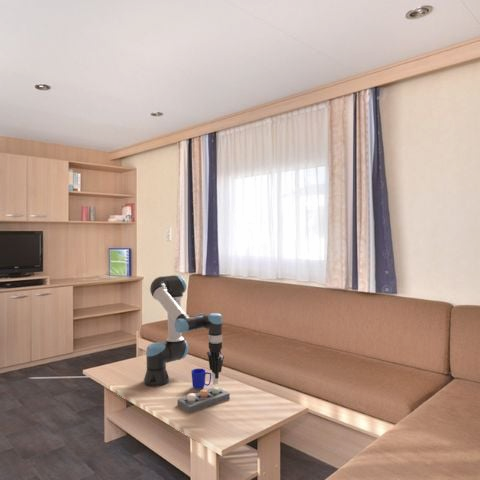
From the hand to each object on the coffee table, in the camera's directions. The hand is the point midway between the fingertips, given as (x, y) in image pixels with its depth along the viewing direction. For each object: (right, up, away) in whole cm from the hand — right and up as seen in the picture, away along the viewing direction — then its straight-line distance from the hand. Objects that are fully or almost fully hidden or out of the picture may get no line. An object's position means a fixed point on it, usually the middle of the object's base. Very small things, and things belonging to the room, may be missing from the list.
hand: (215, 383), depth 217 cm
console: (-6, -8, -5) cm, 11 cm away
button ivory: (-12, -5, -10) cm, 17 cm away
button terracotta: (-6, -5, -5) cm, 9 cm away
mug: (-9, -8, +14) cm, 19 cm away
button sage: (0, -6, 0) cm, 6 cm away
